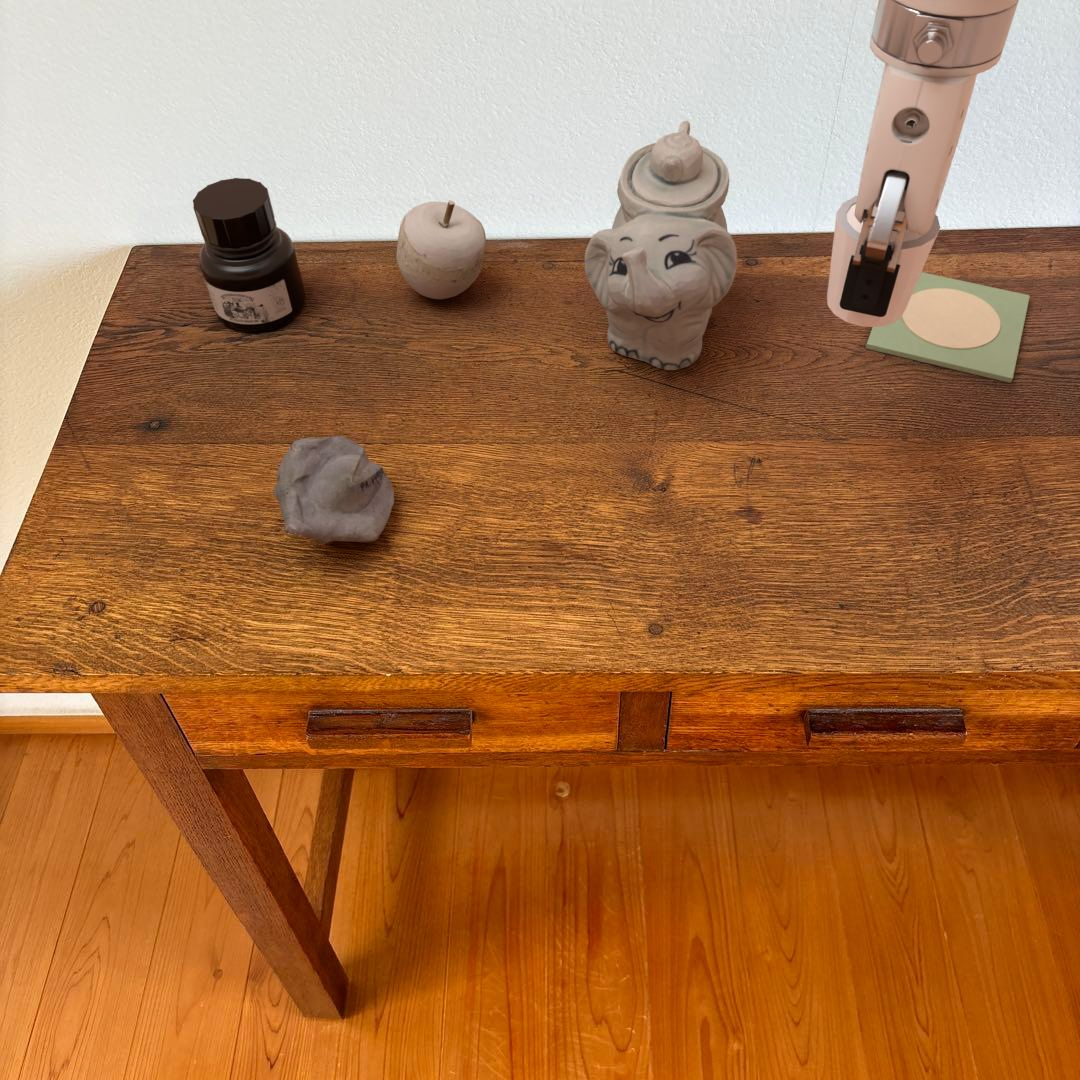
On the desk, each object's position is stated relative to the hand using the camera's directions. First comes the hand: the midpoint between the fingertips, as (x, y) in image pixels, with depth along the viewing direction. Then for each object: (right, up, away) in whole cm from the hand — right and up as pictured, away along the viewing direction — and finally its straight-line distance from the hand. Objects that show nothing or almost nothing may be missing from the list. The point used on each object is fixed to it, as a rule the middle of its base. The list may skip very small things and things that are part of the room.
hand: (873, 278), depth 73 cm
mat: (+15, +2, +24) cm, 28 cm away
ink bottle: (-52, +4, +28) cm, 59 cm away
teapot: (-13, 0, +23) cm, 27 cm away
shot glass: (0, -2, +2) cm, 2 cm away
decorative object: (-33, +6, +29) cm, 45 cm away
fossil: (-40, -18, +10) cm, 45 cm away
